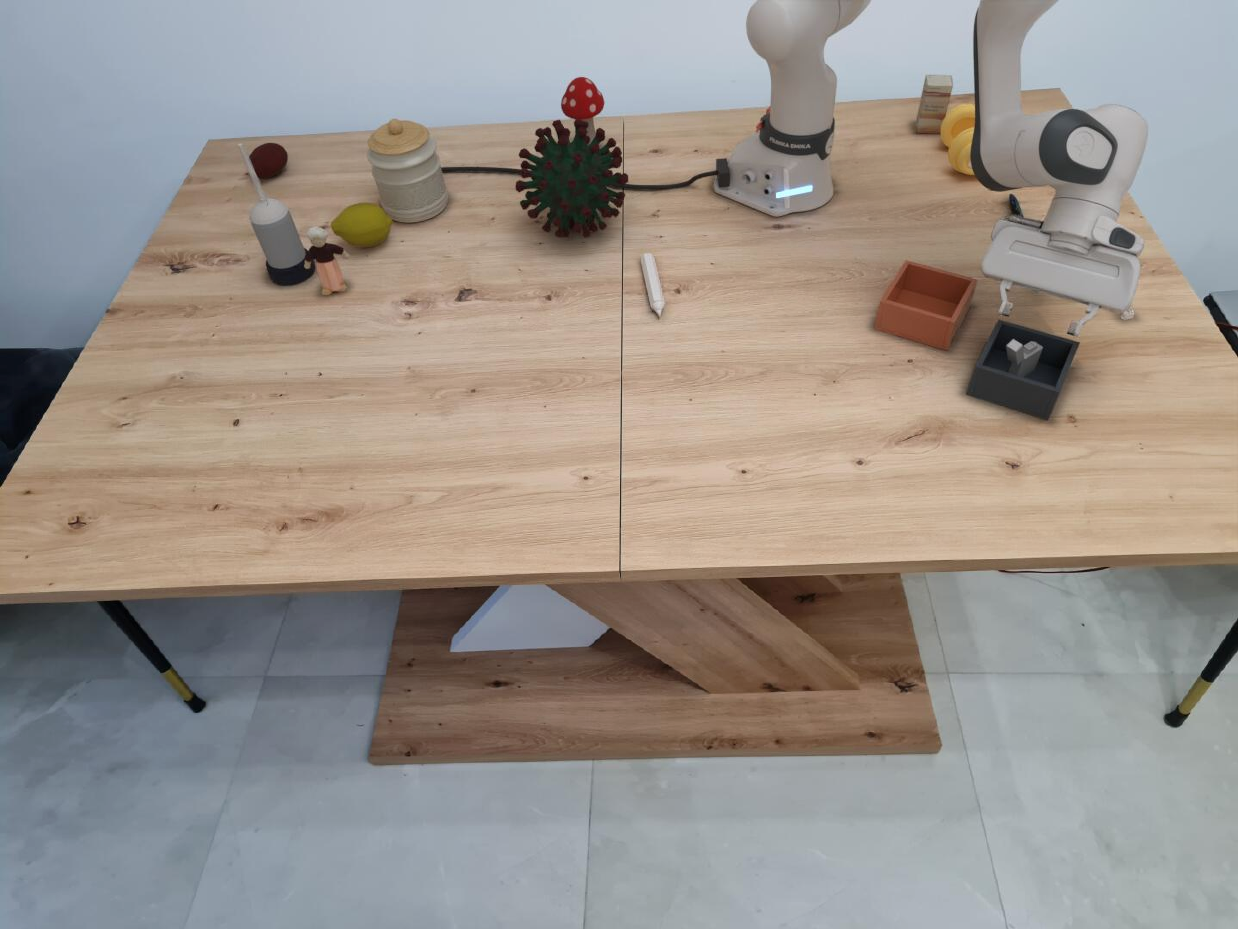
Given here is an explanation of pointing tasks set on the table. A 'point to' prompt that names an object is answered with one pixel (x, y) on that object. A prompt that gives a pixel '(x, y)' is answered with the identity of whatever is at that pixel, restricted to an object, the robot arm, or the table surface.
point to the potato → (268, 159)
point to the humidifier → (277, 236)
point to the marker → (652, 283)
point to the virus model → (572, 179)
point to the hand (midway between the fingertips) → (1037, 325)
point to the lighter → (1023, 357)
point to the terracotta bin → (925, 304)
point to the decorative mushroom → (583, 102)
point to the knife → (1015, 206)
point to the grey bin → (1034, 388)
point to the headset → (959, 136)
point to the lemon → (362, 225)
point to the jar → (407, 171)
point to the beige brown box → (933, 103)
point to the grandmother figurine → (325, 261)
